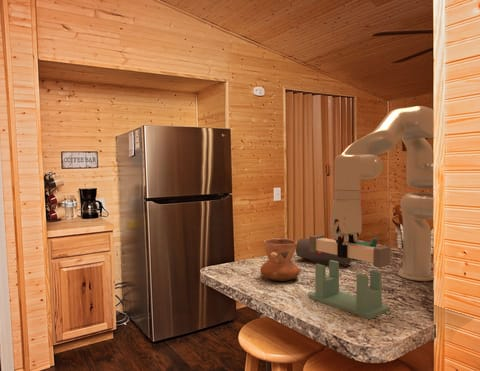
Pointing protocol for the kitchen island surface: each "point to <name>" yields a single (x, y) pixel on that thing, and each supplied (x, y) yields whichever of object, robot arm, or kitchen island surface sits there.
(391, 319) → the kitchen island surface
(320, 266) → the rack
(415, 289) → the kitchen island surface
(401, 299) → the kitchen island surface
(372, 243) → the teal notched block
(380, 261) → the tan wooden bar
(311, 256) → the bluetooth speaker
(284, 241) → the ceramic jug
